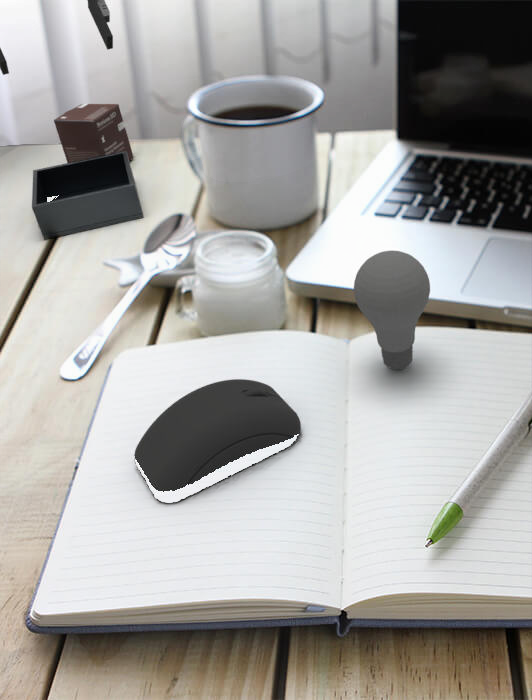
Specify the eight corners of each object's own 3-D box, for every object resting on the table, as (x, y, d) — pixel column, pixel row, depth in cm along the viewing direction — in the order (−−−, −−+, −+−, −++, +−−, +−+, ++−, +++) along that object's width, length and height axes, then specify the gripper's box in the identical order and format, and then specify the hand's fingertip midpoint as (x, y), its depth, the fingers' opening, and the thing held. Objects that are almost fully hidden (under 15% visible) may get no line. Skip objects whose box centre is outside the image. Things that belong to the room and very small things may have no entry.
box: (109, 178, 99) (92, 121, 94) (70, 175, 100) (51, 120, 96) (135, 158, 103) (120, 103, 99) (96, 156, 105) (80, 102, 101)
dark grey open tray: (44, 201, 95) (32, 170, 92) (135, 181, 97) (126, 150, 95) (44, 240, 86) (31, 207, 84) (143, 217, 88) (134, 184, 86)
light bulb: (425, 393, 59) (418, 278, 53) (354, 385, 60) (340, 273, 54) (440, 349, 63) (435, 238, 57) (374, 342, 64) (362, 234, 59)
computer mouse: (309, 437, 56) (302, 394, 54) (162, 510, 52) (147, 467, 49) (269, 393, 60) (260, 352, 58) (130, 457, 56) (115, 415, 54)
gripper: (-115, -91, 95) (-49, 61, 92) (87, -123, 103) (152, 15, 101) (-99, -47, 102) (-37, 95, 99) (89, -81, 110) (150, 49, 108)
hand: (58, 55), depth 100 cm, fingers open, 13 cm apart
